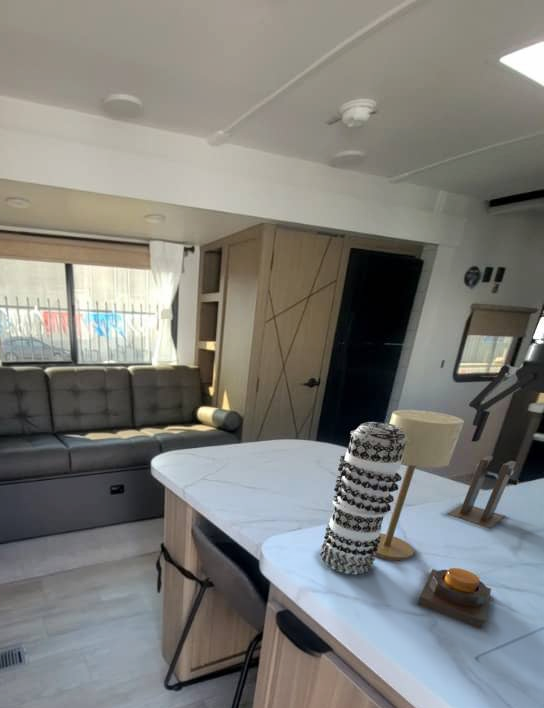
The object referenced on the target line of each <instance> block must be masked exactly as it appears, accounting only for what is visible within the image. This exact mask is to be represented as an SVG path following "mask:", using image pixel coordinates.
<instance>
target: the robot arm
mask: <svg viewBox="0 0 544 708" xmlns="http://www.w3.org/2000/svg"><path fill="white" fill-rule="evenodd" d="M532 339H533V340H534V342H532V343H530V344H529V346H528V349H527V351H526V354H525V356H524V359H523V361H522V364H521V365H520V366H519V367H515V366H511V365H510V364H507V365H502V366H501V368H500V369H499V371H498V373H497V374H496V376H495V377H494V378H493V379H492V380H491V381H490V382H489V383H488V384H487V385H486V386H485V387H484V388H483V389H482V390H481V391H480V392H479V393H478V394H477V395H476V396H475V397H474V398H473V399H472V400H471V401H470V402H469V403H468V406H469V407H470V408H472V409H475V411H476V413H475V415H474V418H473V420H472V426H474V427H475V426H476V427H475V430H474V433H473V435H472V438H471V442H474V443H476V442H479V441H480V440H481V437H482V434H483V432H484V429H485V426H486V424H487V421H488V419H489V416H490V413H491V411H490V410H489V411H487V410H488V409H490V408H491V407H493V406H495V405H496V404H498V403H499V402H501V401H503V400H504V399H506V398H508V397H509V396H511V395H512V394H515V393H516V392H518V391H519V390H523V391H524V392H536V393H539V394H544V311H543V312H542V314H541V317H540V319H539V321H538V324H537V326H536V329H535V332H534V334H533V336H532ZM514 374H515V376H516V378H517V382H515V383H514V384H512V385H510V386H509V387H507V388H505V389H504V390H503V391H501V392H500V393H498V394H497V395H495V396H493V397H492V398H490V399H489V400H487V401H485V402H484V403H483V401H484V400H485V399H486V398H488V396H489V395H490V394H492V393H493V391H495V390H496V389H497V388H498V387H499V386H500V385H501V384H502V383H503V382H504V381H505V380H506V379H507V378H510V377H512V375H514Z"/></svg>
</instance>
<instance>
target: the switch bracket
mask: <svg viewBox="0 0 544 708" xmlns="http://www.w3.org/2000/svg"><path fill="white" fill-rule="evenodd" d="M493 459H494V456H492V455H485V456H484V457H482V458H480V459H479V462H477V464H476V468H475V469H476V470H475V472H474V474H473V477H472V480H471V482H470V485H469V488H468V490H467V492H466V496H465V499H464V501H463V503H462V504H461V505H459V506H457V507H455V508H454V509H452V510H451V511H449V512H448V513H446V515H447V516H450V517H454V518H457V519H459V520H463V521H466V522H469V523H473V524H475V525H478V526H480V527H483V528H487V529H491V528H492V527H493V526H494V525H496V524H497V523H498V522H500V520H502V519H503V518H505V517H506V516H505V515H504V514H500V513H497V512H496V509H497V508H498V505H499V502H500V501H501V498H502V496H503V494H504V491H505V489H506V487H507V484H508V483H507V482H508V480H509V478H511V476H513V474H514V472H515V469H514V468H515V466H516V463H517V462H516V461H513V460H509V461H507V462H505V463H503V464H504V465H503V467H502V469H501V472H500V474H499V477H498V479H497V480H495V481H496V482H495V483H494V486H493V489H492V491H491V493H490V496H489V498H488V500H487V503H486V505H485V508H481V507H477V506H475V503H476V500H477V498H478V496H479V493H480V491H481V488H482V485H483V483H484V481H485V479H486V478H485V476H486V471H485V470H486V468H487V466H488V464H489V462H490V461H491V460H492V461H493Z"/></svg>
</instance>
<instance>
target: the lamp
mask: <svg viewBox="0 0 544 708" xmlns="http://www.w3.org/2000/svg"><path fill="white" fill-rule="evenodd" d="M464 423H465V420H464V419H463V418H461V417H458V416H455V415H451V414H447V413H443V412H437V411H430V410H429V411H428V410H419V409H418V410H417V409H398V410H394V411H392V413H391V416H390V420H389V423H388V424H392V425H395V426H398V427H400V428H401V429H402V430H403V432H404V435H405V437H407V438H408V439H409V442H406V444H405V447H404V451H403V454H402V457H401V458H402V462H401V465H402V464H403V465H407V466H406V469H405V473H404V475H403V477H402V480H401V481H402V482H401V484H400V488H399V491H398V495H397V498H396V501H395V505H394V506H393V507H394V508H393V511H392V514H391V517H390V521H389V524H388V527H387V530H386V533H381V532H380V535H379V536H380V537H381V539H380V543H378V547H377V549H378V550H377V551H376V552H374V553H375V554H376V556H375V557H377V558H379V559H382V560H387V561H393V562H401V560H408V559H410V558H412V557H413V556H414V554H415V550H414V547H413V546H412V545H411V544H410V543H408V542H407V541H405V540H403V539H401V538H399V537H397V536H394V535H395V532H396V529H397V526H398V522H399V520H400V517H401V514H402V510H403V508H404V504H405V501H406V497H407V494H408V491H409V489H410V485H411V482H412V480H413V476H414V473H415V470H416V467H418V468H419V467H420V468H431V469H433V468H434V469H437V468H439V469H440V468H445V467H448V466H449V465H450V463H451V459H452V456H453V454H454V451H455V448H456V445H457V442H458V440H459V437H460V434H461V431H462V428H463V426H464Z"/></svg>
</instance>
